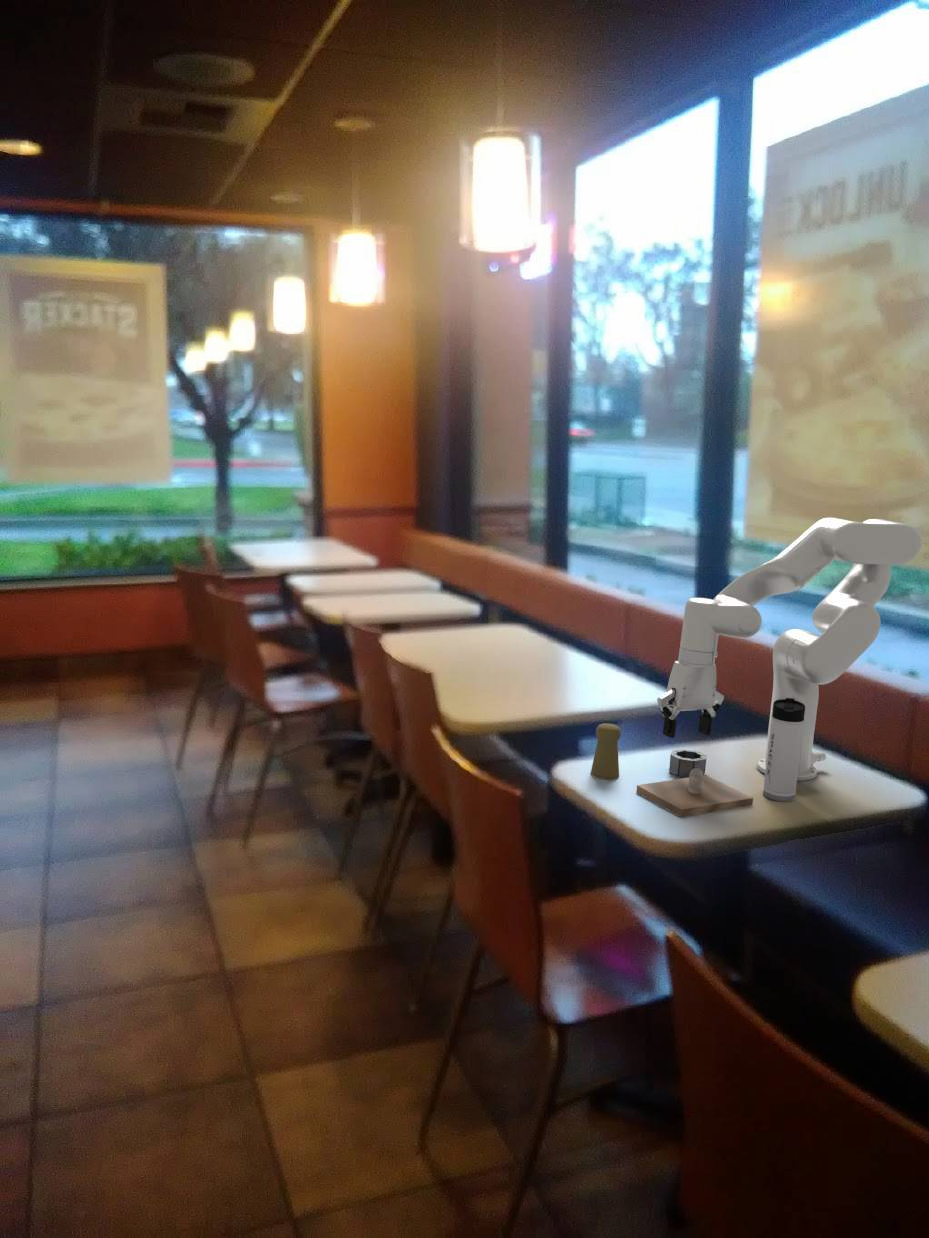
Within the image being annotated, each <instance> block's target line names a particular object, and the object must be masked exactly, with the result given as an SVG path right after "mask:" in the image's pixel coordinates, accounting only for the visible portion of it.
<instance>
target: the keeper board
mask: <svg viewBox="0 0 929 1238" xmlns="http://www.w3.org/2000/svg"><path fill="white" fill-rule="evenodd" d="M636 793H637V794H639V795H640V796H643V797H644V798H646V799H648V800H650V801H651V802H653V803H655V804H657V805H659V806H661V807H663V808H664V809H666V810H668V811H669V812H671V813H673V814H675V815H676V816H678V817H680V818H682V817H683V818H684V817H689V816H690V817H691V816H696V815H702V814H707V813H713V812H718V811H725V810H732V809H737V808H742V807H749V806H753V803H754V797H752V796H750V795H748V794H746V793H743V792H742V791H740V790H738V789H736V788H734V787H732V786H730V785H727V784H726V783H723V782H721V781H720V780H717V779H715V778H713V777H712V776H710V775H707V774H705V775H703V773H702V771H701V770H700V769H698V768H694V769H692V770H691V771H690V775H689V778H677V779H676V778H675V779H670V780H663V781H658V782H657V781H656V782H649V783H648V782H647V783H643V784H636Z"/></svg>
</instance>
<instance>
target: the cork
mask: <svg viewBox="0 0 929 1238" xmlns="http://www.w3.org/2000/svg"><path fill="white" fill-rule="evenodd" d="M621 734H622V732H621V728H620V726H618V725H617V724H613V723H606V722H605V723H600V724H599V725H598V726H597V727H596V729H595V736H596V738H597V743H596V747H595V751H594V755H593V756H594V757H593V760H592V761H593V762H592V765H591V770H590V775H591V774H592V775H593V776H595V777H594V778H595V779H599V780H609V781H611V780H616V779H619V778H620V765H619V748H618V747H619V746H618V743H619V742H618V741H619V739H620V738H621ZM592 775H591V776H592ZM593 776H592V777H593Z"/></svg>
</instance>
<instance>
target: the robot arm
mask: <svg viewBox="0 0 929 1238" xmlns="http://www.w3.org/2000/svg"><path fill="white" fill-rule="evenodd" d="M921 548H922V539H921V536H920V533H919V532H918V530H916V529H915V527H913V526H911V525H909V524H907V523H902V522H897V521H893V520H892V521H891V520H887V519H880V518H869V519H867V520H866V519H865V521H863V522H861V521H854V520H847V519H843V518H838V517H823V518H822V519H819V520H818V521H817V522H815V523H814V524H812V525H811V526H810V527H809V528H808V529H806V530H805V531H804V532H803V533H802V534H801V535H800V536H799V537H797V538H796V539H795V540H794V541H793V542H791V543H790V544H789V545H788V546H787V547H786V548H785V549H783V550H782V551H781V552H780V553H779V554H778V555H776V556H775V557H774V558H772V559H771V560H769V561H766V562H765V563H762V564H761V565H759V566H757V567H755V568H753V569H751V570H749V571H747V572H745V573H744V574H742V575H740V576H739V577H737V578H735V579H734V580H732V582H731V583H729V584H728V585H727V586H726V587H724V588H723V589H722V590H721V591H720V592H719V593H718V594H716V596H715V597H714V598H713V599H712V598H706V597H692V598H689V599H687V601H686V602H685V606H684V615H683V621H682V622H683V623H682V628H681V634H680V635H681V636H680V643H679V644H680V645H679V651H678V658H677V660H675V661H674V663H673V665H672V669H671V672H670V673H669V674H670V675H669V679H668V684H667V688H666V692H665V693H663V694H661V695H660V696H658V697H657V698H656V699H657V700H656V702H657V705H658V709H659V711H660V713H661V715H662V716H663V717H664V719H663V720H664V722H663V727H662V728H663V729H662V734H663V735H664V736H666V737H668V738H670V739H674V738H675V737H676V728H677V721H678V720H677V719H675V718H676V717H677V716H678V715H679V713H680V712H681V711H682V712H686V711H689V712H690V711H701V712H702V713H700V715H699V722H698V728H697V729H698V730H697V731H698V732H699V733H701V734H703V735H706V736H710V735H711V730H712V725H713V724H712V723H713V722H712V721H713V718H715V717H716V713H717V712H718V711H719V710H720V708H721V705H722V704H723V701H724V699H725V695H724V694H722V693H720V692H719V691H717V666H716V664H715V662H716V661H715V660H716V658H717V657H718V656H719V653H718V651H717V649H718V648H717V647H718V641H719V636H721V635H722V636H725V637H729V638H736V639H748V638H750V637H753V636H755V635H756V634H757V633H758V632H759V631H760V629H761V627H762V624H763V623H762V621H763V620H762V615H761V613H760V612H759V610H758V609H757V608H756V607H755V605H757V604H758V603H760V602H762V601H764V600H766V599H769V598H771V597H774V596H777V595H784V594H789V593H793V592H796V591H800V590H801V589H803V588H804V587H806V585H808V584H809V583H810V582H811V581H812V580H813V579H815V577H817V576H818V575H819V574H820V573H822V572H823V571H824V570H825V569H826V568H827V567H829V565H831V564H832V563H834V561H839V562H843V563H847V564H852V567H851V568H850V570H849V571H848V573H847V574H846V575H845V577H844V578H842V580H841V581H840V582H839V583H837V585H836V586H835V587H834V588H833V589H832V590H831V591H830V592H829V593H827V595H826V596H825V597H824V598H823V599H822V600H821V601H820V602H819V603H818V604H817V606H816V607H814V610H813V612H812V616H811V617H812V618H811V621H812V624H813V626H814V627H815V628H816V630H817V631H818V632H819V633H821V634H820V635H818V634H815V633H814V632H811V631H808V630H806V629H801V628H791V629H788V630H786V631H784V632H783V633H781V634H780V635H779V636H778V638H777V639H776V641H775V643H774V645H773V648H772V649H773V650H772V667H773V668H772V669H773V670H772V671H773V681H772V682H773V685H772V695H771V696H772V697H771V703H770V714H769V720H768V721H769V722H768V730H767V740H766V749H765V757H762V758H761V759H759V760H757V762H756V768H757V770H759V772H761V773H763V774H764V775H765V771H766V762H767V753H768V744H769V735H770V727H771V719H772V713H773V703H774V701H776V700H779V699H786V698H793V699H794V700H795V701H799V702H801V703H803V704H804V705H805V715H804V726H803V734H802V742H801V751H800V759H799V768H798V776H797V782H798V781H800V782H801V781H809V780H813V779H815V778H816V777H817V775H818V769H817V768H816V767H814V764H815V763H816V762H823V761H826V760H827V755H826V753H825V752H823V751H820V752H814V751H813V745H814V737H815V736H814V735H815V729H816V723H817V722H816V721H817V713H818V712H817V711H818V706H819V698H820V696H819V694H820V692H819V689H820V688H819V685H827V684H830V683H832V682H833V681H835V680H837V679H838V678H839V677H841V676H842V675H843V674H844V673H845V672H846V671H847V670H848V668H850V667H851V666H853V664H854V663H855V662H856V661H857V660H858V659H859V658H860V657H861V656H862V655H863V654H864V653H865V652H866V651H867V649H868V648H869V647H870V646H871V645H872V644H873V642H875V640H876V639H877V637H878V634H879V633H880V630H881V624H882V623H881V615H880V614H879V611H878V610H877V609H876V608H875V606H876V604H877V603H878V602H879V601H880V600H881V599H882V597H883V596H884V595H885V594H886V593H887V590H888V588H889V586H890V582H891V576H892V566H897V565H899V566H900V565H904V564H907V563H910V562H911V561H913V560H914V559H916V557H917V556H918V555H919V553H920V551H921Z"/></svg>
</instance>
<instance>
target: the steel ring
mask: <svg viewBox="0 0 929 1238" xmlns="http://www.w3.org/2000/svg"><path fill="white" fill-rule="evenodd" d="M669 757H670V758H669V768H668V773H669V774H672V775H673V776H675V777H677V778H681V779H683V778H689V775H690V771H691V770H692V769H694V768H698V769H700V770H701V771H702V773H703V775H706V766H707V758H708V757H707V754H705V753H703V752H701V751H698V750H693V749H684V748H680V749H675V750H672V751H671V752H670V756H669Z"/></svg>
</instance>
